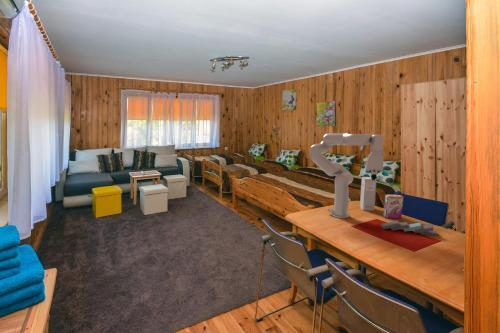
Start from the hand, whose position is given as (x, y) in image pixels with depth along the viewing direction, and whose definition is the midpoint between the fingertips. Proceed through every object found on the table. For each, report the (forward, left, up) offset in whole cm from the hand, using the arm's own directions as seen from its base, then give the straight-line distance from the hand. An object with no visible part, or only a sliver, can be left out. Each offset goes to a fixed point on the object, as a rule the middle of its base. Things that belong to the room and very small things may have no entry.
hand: (373, 179), depth 194 cm
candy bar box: (+16, +15, -30) cm, 37 cm away
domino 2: (+11, -10, -29) cm, 33 cm away
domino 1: (+6, -11, -29) cm, 31 cm away
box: (0, +31, -30) cm, 43 cm away
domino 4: (+25, -11, -28) cm, 39 cm away
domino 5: (+27, -11, -29) cm, 42 cm away
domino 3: (+19, -10, -29) cm, 36 cm away
